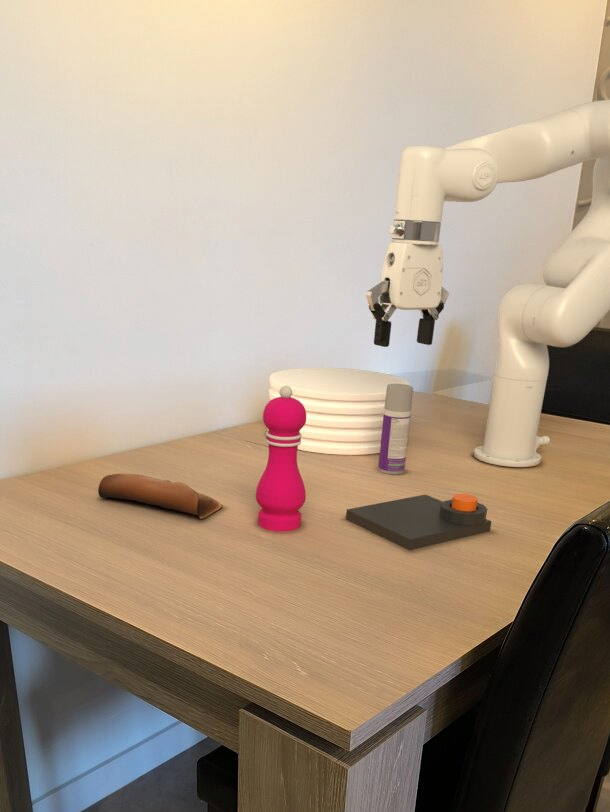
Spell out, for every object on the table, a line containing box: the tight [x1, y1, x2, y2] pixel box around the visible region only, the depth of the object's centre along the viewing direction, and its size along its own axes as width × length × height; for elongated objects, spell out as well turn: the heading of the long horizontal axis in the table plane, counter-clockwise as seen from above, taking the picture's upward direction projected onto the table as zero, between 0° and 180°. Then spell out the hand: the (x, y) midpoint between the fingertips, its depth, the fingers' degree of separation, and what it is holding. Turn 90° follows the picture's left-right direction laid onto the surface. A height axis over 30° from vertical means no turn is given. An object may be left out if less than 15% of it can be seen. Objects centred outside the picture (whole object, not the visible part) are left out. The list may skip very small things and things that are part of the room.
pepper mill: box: [255, 386, 307, 532], centre depth 116 cm, size 7×7×20 cm
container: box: [377, 384, 414, 475], centre depth 145 cm, size 5×5×15 cm
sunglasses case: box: [97, 473, 223, 520], centre depth 126 cm, size 18×7×7 cm, turn 64°
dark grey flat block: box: [345, 494, 492, 551], centre depth 122 cm, size 16×14×4 cm
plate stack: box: [267, 367, 411, 456], centre depth 167 cm, size 28×28×12 cm
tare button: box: [451, 493, 479, 511], centre depth 121 cm, size 4×4×2 cm
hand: (403, 344), depth 139 cm, fingers open, 9 cm apart
